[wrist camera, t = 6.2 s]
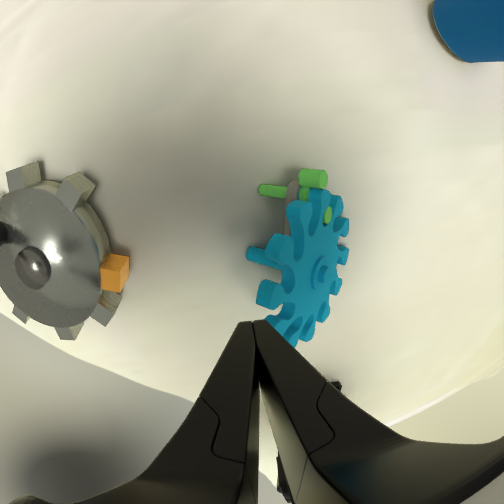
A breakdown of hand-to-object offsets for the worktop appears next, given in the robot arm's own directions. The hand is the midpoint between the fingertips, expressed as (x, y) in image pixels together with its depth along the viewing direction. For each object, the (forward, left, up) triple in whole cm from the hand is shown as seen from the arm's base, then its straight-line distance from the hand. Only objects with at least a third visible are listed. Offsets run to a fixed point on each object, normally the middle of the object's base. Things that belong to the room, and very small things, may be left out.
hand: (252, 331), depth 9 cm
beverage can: (+17, -19, -12) cm, 28 cm away
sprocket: (-1, +15, -12) cm, 19 cm away
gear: (-2, -4, -12) cm, 13 cm away
